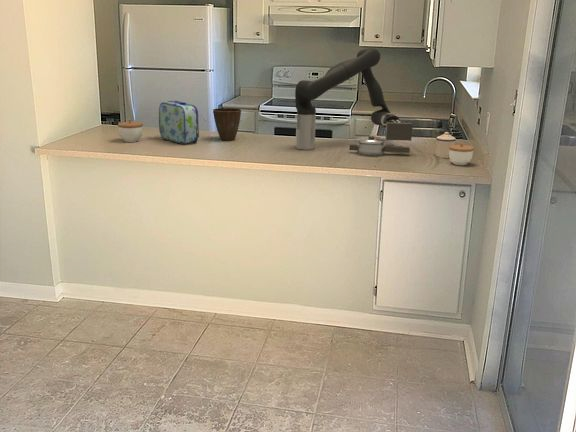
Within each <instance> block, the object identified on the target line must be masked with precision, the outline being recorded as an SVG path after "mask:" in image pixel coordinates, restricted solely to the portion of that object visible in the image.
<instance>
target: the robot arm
mask: <svg viewBox="0 0 576 432" xmlns="http://www.w3.org/2000/svg"><path fill="white" fill-rule="evenodd" d="M380 60H381V52H380V50H378V49H376V48H373V47H372V48H371V47H370V48H365V49H361V50H359V51H358V52H357V54H356V57H354V58H352V59H348V60H344V61H342V62H339V63H338V64H335V65H334V66H332V67H330V68H329V69H328V70H327V71H326V73H325V75H323V76H322V77H320V78H317V79H316V80H306V79H305V80H304V79H302V80H299V81H298V83H297V84H296V86H295V90H294V92H295V93H294V95H295V96H294V97H295V101H294V102H295V108H296V129H295V148H296V150H302V151H304V150H305V151H307V150H314V149H315V146H316V143H315V142H316V119H317V116H316V114H317V111H316V110H317V109H316V108H315V106H314V105H313V104H312V102H311V101H314V100H316V99H318V98H319V97H321V96H322V95H323V94H325V93H326V92H328V91H329V90H331V89H333V88H335V87H337V86H339V85H341V84H343V83H345V82H347V81H348V80H349V79H352V78H353V77H354V76H356V75H358V74H360V73H361V75H362V77H363V80H364V83H365V85H366V88H367V91H368V96H369V99H370V100H369V101H370V104H371V106H372V107H375V108H376V107H380V108H381V109H379V110H376V111H373V112H372V113H371V114H370V119H371V122H372V123H373V124H374V125H376V126H382V127H383V128H386V122H390V123H408V121H407V120H406V121H402V120H400V118H399V117H398V116H397V115H395V114H394V113H391V111H390V109H389V108H388V106H387V103H386V100H385V97H384V94H383V89H382V87H381V85H380V83H379V81H378V80H377V79H376V77H375V76H374V73H373V71H372V67H375V66H377V65H378V64H379V62H380Z"/></svg>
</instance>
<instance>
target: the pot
mask: <svg viewBox="0 0 576 432" xmlns="http://www.w3.org/2000/svg"><path fill="white" fill-rule="evenodd" d="M356 142H357V143H350V144H349V149H348V150H349V151H356V154H357V155H359V156H362V155H363V157H382V156H384V155H385V153H400V154H401V153H402V154H410V152H411V151H410V149H411V148H410V146H398V145H386V142H385V143H381V144H366V143H360V142H358V141H356Z"/></svg>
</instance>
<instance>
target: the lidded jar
mask: <svg viewBox="0 0 576 432" xmlns="http://www.w3.org/2000/svg"><path fill="white" fill-rule="evenodd" d="M473 154H474V147H473V146H471V145H465V144H463V142H462V143H460V144H455V145H451V146H449V158H448V159H449V160H450V162H452V164H453V165H455V166H467V164H469V163H470V161H471V160H472V158H473Z"/></svg>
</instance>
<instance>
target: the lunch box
mask: <svg viewBox="0 0 576 432" xmlns="http://www.w3.org/2000/svg"><path fill="white" fill-rule="evenodd" d="M158 129H159V134H160V136H161V138H162V139H164V140H166V141H171V142H174V143H178V144H182V145H183V144H196V143H197V142H198V140H199V138H200V130H199V129H200V127H199V111H198V107H197V106H195V105H194V104H191V103H187V102H182V101H179V100H167V101H162V102H161V103H159V109H158Z"/></svg>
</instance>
